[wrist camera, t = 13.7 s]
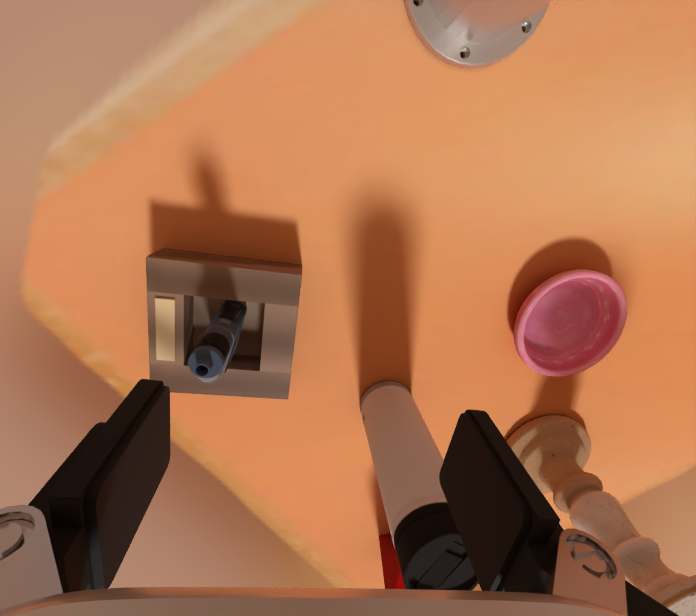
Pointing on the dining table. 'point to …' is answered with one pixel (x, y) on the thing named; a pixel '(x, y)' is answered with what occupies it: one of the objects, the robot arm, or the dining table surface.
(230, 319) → the vaping device
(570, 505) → the candle holder
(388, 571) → the french fries
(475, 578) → the travel mug
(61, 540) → the robot arm
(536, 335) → the saucer
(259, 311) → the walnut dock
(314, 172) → the dining table surface
